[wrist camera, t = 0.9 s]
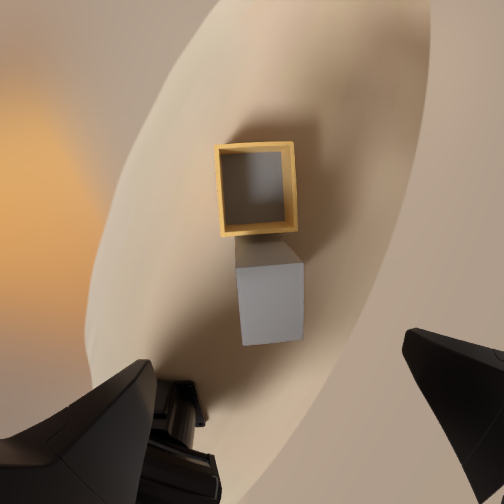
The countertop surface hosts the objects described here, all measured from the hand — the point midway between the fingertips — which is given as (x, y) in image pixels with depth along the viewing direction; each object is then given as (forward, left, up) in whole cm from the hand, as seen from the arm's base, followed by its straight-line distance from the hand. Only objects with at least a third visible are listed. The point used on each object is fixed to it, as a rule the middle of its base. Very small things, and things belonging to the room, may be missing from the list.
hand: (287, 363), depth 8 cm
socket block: (+5, 0, -12) cm, 13 cm away
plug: (0, 0, -12) cm, 12 cm away
